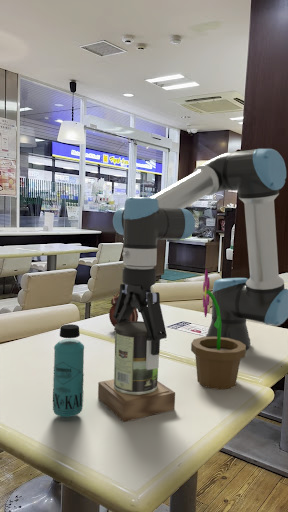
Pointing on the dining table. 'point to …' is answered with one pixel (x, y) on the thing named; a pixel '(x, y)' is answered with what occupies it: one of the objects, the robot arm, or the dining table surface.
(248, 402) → the dining table surface
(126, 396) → the walnut base
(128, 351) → the coffee can
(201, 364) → the flowerpot
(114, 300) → the alarm clock
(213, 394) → the dining table surface
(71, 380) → the beverage bottle
